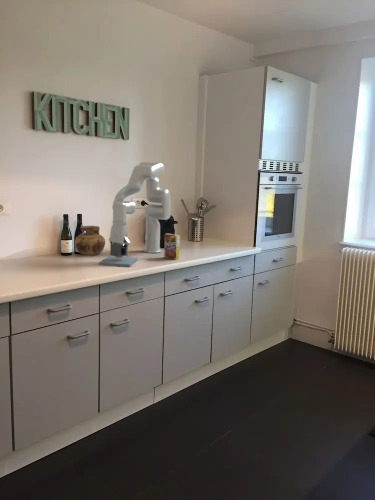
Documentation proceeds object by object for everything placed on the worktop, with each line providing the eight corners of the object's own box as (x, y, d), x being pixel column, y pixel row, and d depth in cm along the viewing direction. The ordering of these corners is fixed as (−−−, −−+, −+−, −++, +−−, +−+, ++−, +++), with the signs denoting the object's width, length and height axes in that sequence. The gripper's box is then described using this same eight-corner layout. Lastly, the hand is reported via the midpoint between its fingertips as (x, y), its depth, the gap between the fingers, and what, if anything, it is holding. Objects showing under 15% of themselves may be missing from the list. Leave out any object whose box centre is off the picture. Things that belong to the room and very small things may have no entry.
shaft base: (109, 258, 268) (109, 248, 267) (137, 260, 266) (138, 250, 265) (98, 265, 248) (98, 254, 247) (130, 266, 246) (130, 256, 245)
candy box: (163, 258, 275) (164, 233, 272) (167, 256, 279) (168, 233, 276) (175, 259, 271) (176, 235, 268) (179, 258, 274) (180, 234, 272)
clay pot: (101, 253, 266) (89, 222, 264) (75, 262, 271) (63, 232, 269) (113, 248, 285) (102, 219, 282) (88, 256, 289) (77, 228, 287)
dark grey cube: (110, 255, 255) (110, 244, 254) (118, 253, 261) (119, 242, 260) (118, 256, 251) (119, 245, 250) (127, 255, 257) (127, 244, 256)
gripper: (104, 222, 255) (103, 252, 258) (125, 225, 245) (125, 256, 248) (113, 221, 261) (113, 251, 264) (134, 224, 251) (134, 255, 254)
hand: (119, 253), depth 256 cm, fingers closed on dark grey cube, 7 cm apart
